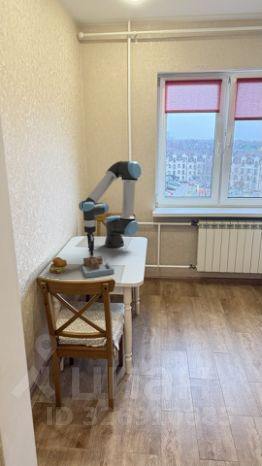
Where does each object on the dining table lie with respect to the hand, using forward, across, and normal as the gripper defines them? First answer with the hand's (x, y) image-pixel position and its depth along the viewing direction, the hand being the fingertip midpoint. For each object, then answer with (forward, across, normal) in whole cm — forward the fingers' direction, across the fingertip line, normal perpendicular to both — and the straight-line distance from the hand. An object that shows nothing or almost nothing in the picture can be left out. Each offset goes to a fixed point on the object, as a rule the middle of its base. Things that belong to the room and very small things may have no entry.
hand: (91, 259), depth 218 cm
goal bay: (+2, +16, 0) cm, 16 cm away
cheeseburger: (+3, +7, -23) cm, 24 cm away
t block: (+2, +7, 0) cm, 7 cm away
